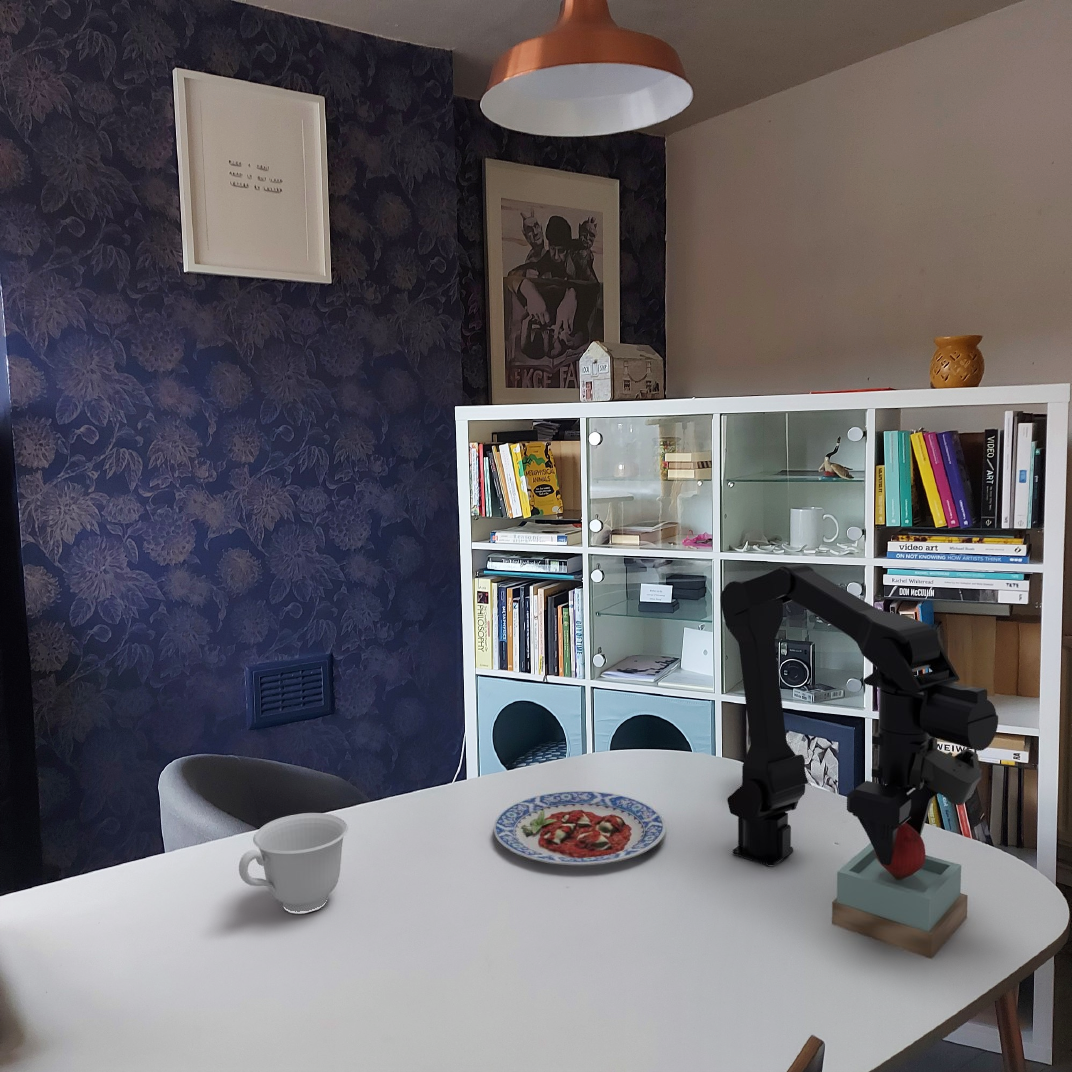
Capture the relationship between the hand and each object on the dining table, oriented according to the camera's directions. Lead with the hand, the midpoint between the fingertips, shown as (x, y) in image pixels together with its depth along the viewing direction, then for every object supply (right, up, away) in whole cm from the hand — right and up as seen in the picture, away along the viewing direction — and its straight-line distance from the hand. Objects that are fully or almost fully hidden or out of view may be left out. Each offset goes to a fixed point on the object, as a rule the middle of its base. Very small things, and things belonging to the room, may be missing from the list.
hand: (900, 850), depth 117 cm
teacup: (-76, -10, +8) cm, 77 cm away
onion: (0, -4, +1) cm, 4 cm away
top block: (0, -6, +1) cm, 6 cm away
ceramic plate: (-38, -7, +27) cm, 47 cm away
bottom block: (0, -10, +1) cm, 10 cm away
